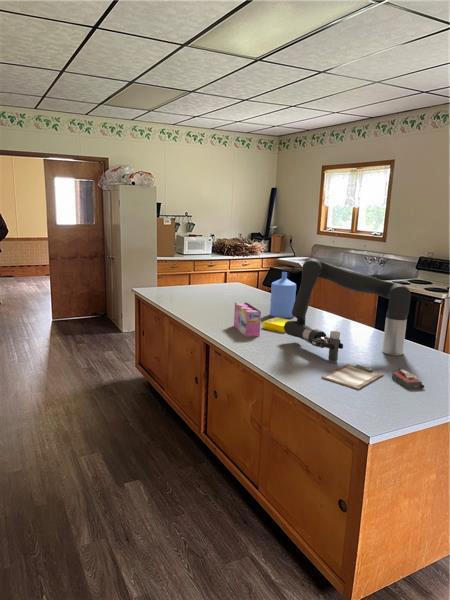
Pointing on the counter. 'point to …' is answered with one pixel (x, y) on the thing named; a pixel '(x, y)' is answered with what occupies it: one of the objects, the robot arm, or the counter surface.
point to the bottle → (335, 341)
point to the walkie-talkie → (407, 379)
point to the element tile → (275, 324)
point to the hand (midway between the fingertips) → (338, 347)
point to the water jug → (282, 297)
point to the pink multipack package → (247, 319)
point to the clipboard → (353, 376)
